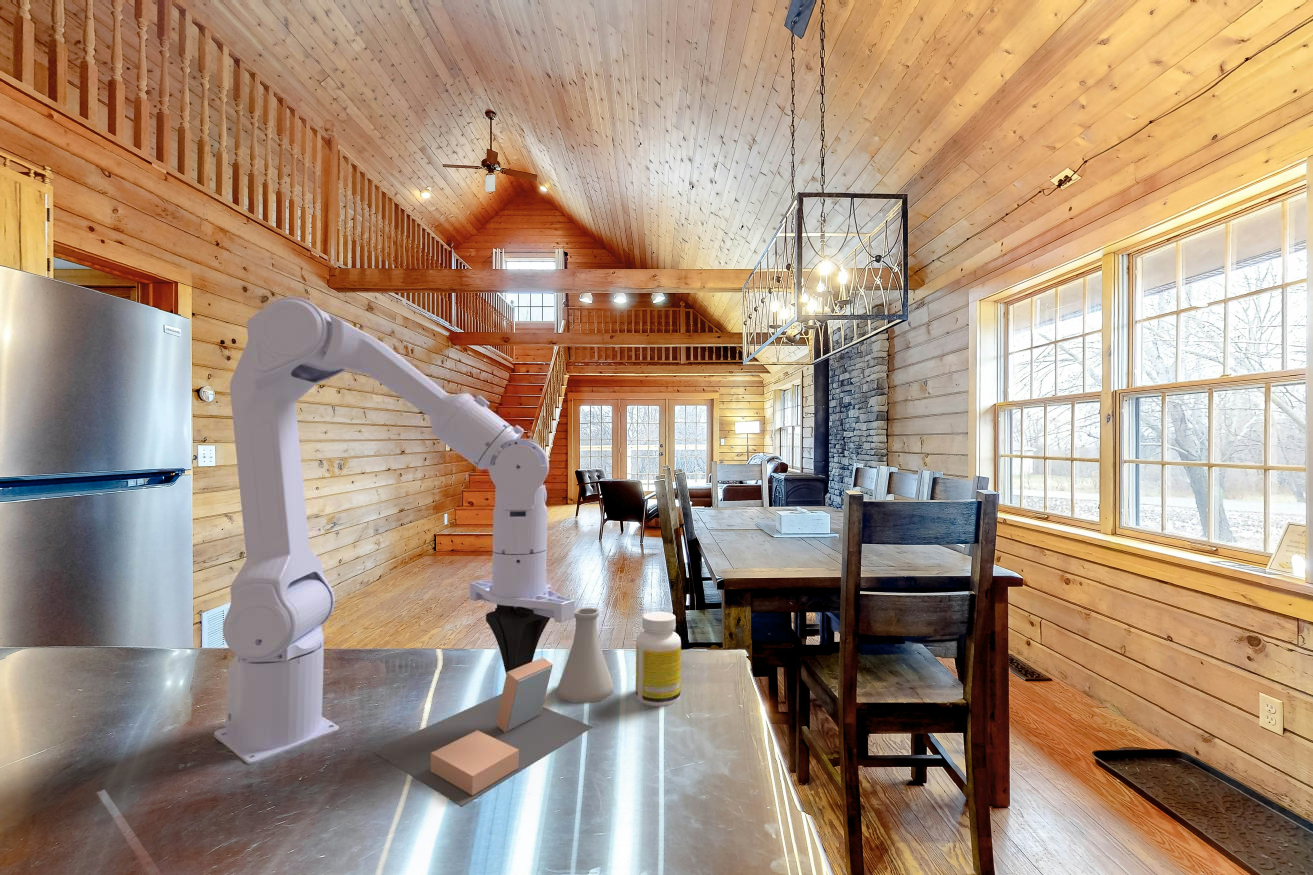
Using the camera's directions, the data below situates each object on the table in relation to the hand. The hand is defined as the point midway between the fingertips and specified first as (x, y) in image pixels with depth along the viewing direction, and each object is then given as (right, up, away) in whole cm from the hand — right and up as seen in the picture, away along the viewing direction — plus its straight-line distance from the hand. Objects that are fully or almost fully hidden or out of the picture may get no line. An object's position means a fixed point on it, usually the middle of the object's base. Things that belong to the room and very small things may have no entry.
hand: (518, 676), depth 59 cm
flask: (+6, -6, +8) cm, 11 cm away
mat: (-2, -5, -4) cm, 7 cm away
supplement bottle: (+15, -6, +6) cm, 17 cm away
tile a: (-4, -4, -8) cm, 9 cm away
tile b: (0, -4, 0) cm, 4 cm away
